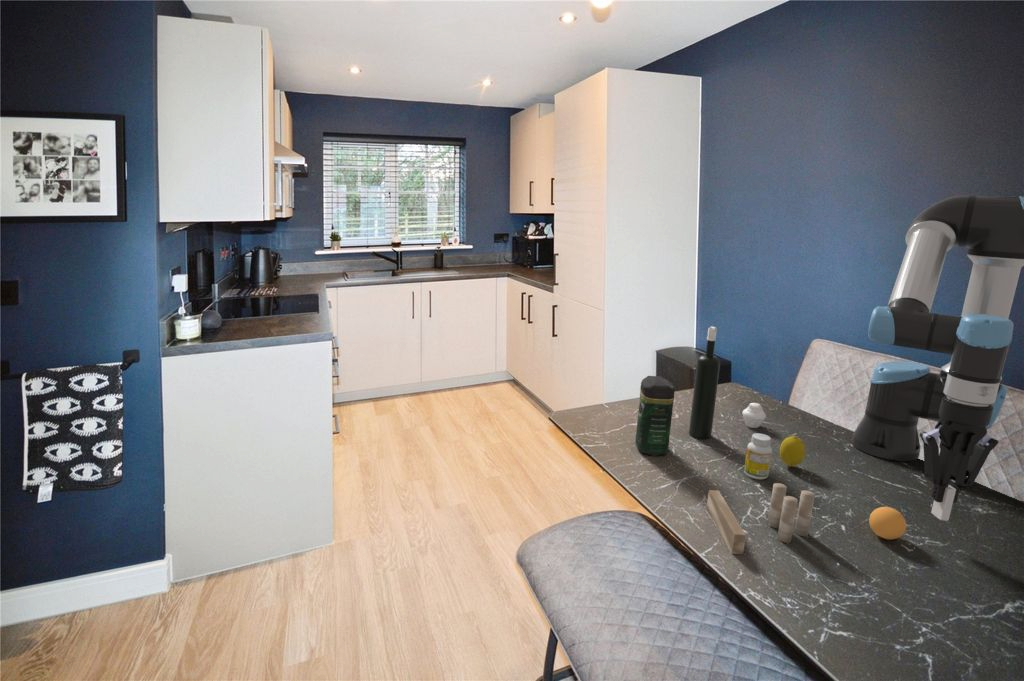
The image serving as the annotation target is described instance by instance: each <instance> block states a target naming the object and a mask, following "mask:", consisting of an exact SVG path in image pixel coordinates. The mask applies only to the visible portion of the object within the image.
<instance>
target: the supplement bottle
mask: <svg viewBox="0 0 1024 681" xmlns="http://www.w3.org/2000/svg"><path fill="white" fill-rule="evenodd" d="M771 442H772V438H771V437H770V435H767V434H764V433H758V432H757V433H753V434H751V441H750V442H749V443H748V444H747V446H746V454H745V460H744V467H743V472H744V474H745V475H746V476H747V477H749V478H751V479H755V480H765V479H767V478H768V477H769V474H770V473H769V472H770V467H771V461H772V456H773V455H772V454H773V448H772V446H771V445H770V444H771Z"/></svg>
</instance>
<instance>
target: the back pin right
mask: <svg viewBox="0 0 1024 681" xmlns="http://www.w3.org/2000/svg"><path fill="white" fill-rule="evenodd" d="M787 489H788V487H787V485H786V484H783V483H781V482H780V483H779V482H775V483H773V485H772V491H771V492H772V493H771V498H770V503H769V509H768V515H767V516H768V517H767V522H766V524H767V525H768V527H770V528H774V529H779V525H780V519H781V513H782V507H783V501H784V497H785V496H787Z"/></svg>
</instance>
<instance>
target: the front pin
mask: <svg viewBox="0 0 1024 681" xmlns="http://www.w3.org/2000/svg"><path fill="white" fill-rule="evenodd" d="M815 498H816V494H815V493H814V492H812V491H810V490H804V489H803V490H801V492H800V497H799V501H798V502H799V503H798V507H797V512H796V518H795V520H796V521H795V524H794V525H795V526H794V530H793V533H794V534H796V535H797V536H801V537H808V536H809V530H810V525H811V520H812V514H813V509H814V505H815V504H814V503H815Z"/></svg>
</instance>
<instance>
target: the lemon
mask: <svg viewBox="0 0 1024 681" xmlns="http://www.w3.org/2000/svg"><path fill="white" fill-rule="evenodd" d="M779 456H780V459H781V461H782V462H783V463H784V464H786V465H787V466H788V467H793V466H798V465H799V464H801V463H802V462H803V461H804V459H805V456H806V446H805V443H804V441H803V440H802V439H800V438H799V437H798V436H797V435H793V436H788V437H786V438H784V440H783V441H782V442H781V445H780V447H779Z"/></svg>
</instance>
